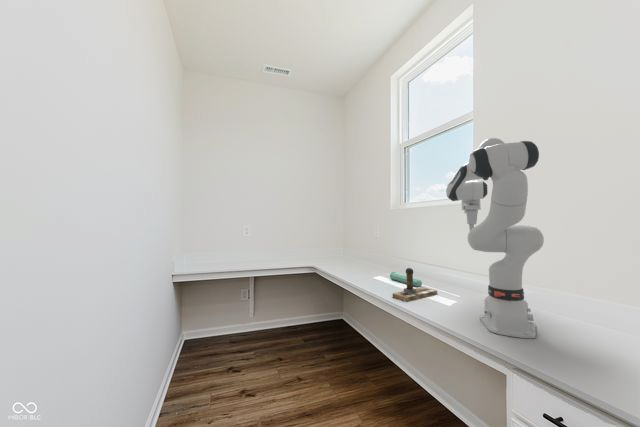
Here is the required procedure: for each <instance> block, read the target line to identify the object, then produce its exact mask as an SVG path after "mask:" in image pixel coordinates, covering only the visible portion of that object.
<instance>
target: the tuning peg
mask: <svg viewBox="0 0 640 427" xmlns="http://www.w3.org/2000/svg"><path fill="white" fill-rule="evenodd" d="M405 274H406V276H407V284H406V287H405V288H403V291H404V293H408V294H413V293H414V294H418V293H417V291H416V288H415V287H414V286H413V278H414V276H413V275H414V270H413V269H412V268H411V267H407V268H406V270H405Z"/></svg>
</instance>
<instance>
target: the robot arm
mask: <svg viewBox="0 0 640 427" xmlns="http://www.w3.org/2000/svg"><path fill="white" fill-rule="evenodd" d="M539 158H540V152H539V147H538V146H537V145H536V143H535V142H532V141H528V140H519V141H515V142H507V143H506V142H505V141H504V140H502V139H501V138H495V137H492V138H491V137H490V138H487V139H485V140H484V141H482V142H481V143H480V145H479V146H478V148H477V149H474V150H473V151H472V152H471V153H470V156H469V160H468V162H467V163H465V164H463V165H462V166H460V168H459V169H458V171H457V172H456V174H455V175H454V177H453V178H452V180H451V181H450V182H449V183H448V184H447V186H446V191H445V192H446V197H447V198H448V199H449V200H450V201H452V202H456V201H458V202H459V201H461V211H463V212H464V214H466V223H467V224H468V227H469V231H468V233H467V234H468V235H467V242H468V245H469V246H470V248H471V249H472V250H475V251H477V252H478V251H479V252H483V253H503V254H505V255H504V257H503V258H502V259H499V260H497V261H495V262H493V263H492V264H490V266H489V268H488V281H489V283H488V286H487V291H488V295H487V297H485V298H484V301H483V302H484V311H483V312H484V313H483V314H484V315H480V316H479V320H480V321H481V322H482V324H483V325H484V327H486V329H487V330H488V331H489V332H491V333H494V334H498V335H501V336H506V337H507V336H508V337H512V338H513V337H514V338H522V339H535V338H537V331H536V330H537V326H536V322H535V321H534V314H532V313H531V311H532V310H531V308H530V307H529V303H528V302H527V300H525V292H524V288H523V270H524V266H525V264H526V263H527V261H528V260H529V258H530V257H531V256H533V255H534V254H535V253H537V252H539V251H540V250H541V249H542V248H543V246H544V243H545V240H544V235H543V233H542V231H541V230H540V229H539V228H537V227H535V226H529V225H521V224H518V223H520V222H521V221H522V220H523V219H524V217H525V214H526V209H527V208H526V207H527V203H528V193H529V186H528V185H529V184H528V177H527V174H526V173H525V172H524V171H526V170H529V169H531V168H534V167H535V166H536V165H537V163H538V161H539ZM489 178H490V179H491V181H492V190H491V196H490V206H489V211H488V214H487V216H486V217H485V219H484V220H483V221H482V222H480V223H479V224H478V225H477V220H478V214H479V210H481V209H482V208H481V200H482V199H484V198H485V197H487V195H488V184H487V183H486V182H485V181H488V180H489ZM481 179H482V180H481ZM483 180H484V181H483ZM516 224H517V225H516ZM530 313H531V314H530Z"/></svg>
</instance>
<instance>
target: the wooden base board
mask: <svg viewBox="0 0 640 427" xmlns="http://www.w3.org/2000/svg"><path fill="white" fill-rule="evenodd" d="M415 289H416V291H417V293H418V294H414V293H413V294H408V293H404V290H401V291H398V292H394V293H392V298H393V299H398V300H401V301H402V302H403V301H404V302H406V303H407V302H412V301H415V300H420V299H424V298H428V297H431V296H436V295H438V290H435V289H432V288H427V287H424V286H420V287H417V288H415Z"/></svg>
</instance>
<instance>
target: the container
mask: <svg viewBox="0 0 640 427" xmlns="http://www.w3.org/2000/svg"><path fill="white" fill-rule="evenodd" d="M389 279H390V280H392V281H396V282H400V283H403V284H406V285H407V274H406V275H405V274H401V273H398V272H396V271H391V273H390V274H389ZM422 285H423V281H422V280H421V279H419V278H417V277H413V287H417V288H420V287H422Z"/></svg>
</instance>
